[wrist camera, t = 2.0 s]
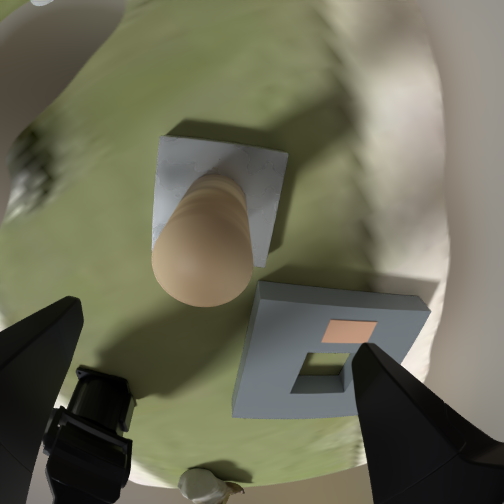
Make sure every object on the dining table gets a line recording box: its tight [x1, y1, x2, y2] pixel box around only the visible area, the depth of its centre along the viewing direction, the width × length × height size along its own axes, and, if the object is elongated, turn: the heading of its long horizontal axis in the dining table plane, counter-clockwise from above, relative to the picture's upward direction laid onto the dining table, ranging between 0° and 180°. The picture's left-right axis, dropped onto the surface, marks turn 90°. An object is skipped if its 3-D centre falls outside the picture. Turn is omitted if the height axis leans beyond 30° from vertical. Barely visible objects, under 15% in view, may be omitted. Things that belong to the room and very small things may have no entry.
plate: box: [152, 135, 289, 268], centre depth 19 cm, size 8×8×2 cm
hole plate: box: [232, 281, 431, 419], centre depth 26 cm, size 16×16×3 cm
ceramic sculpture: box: [178, 468, 244, 504], centre depth 38 cm, size 11×9×15 cm
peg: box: [152, 174, 253, 307], centre depth 15 cm, size 4×4×8 cm
